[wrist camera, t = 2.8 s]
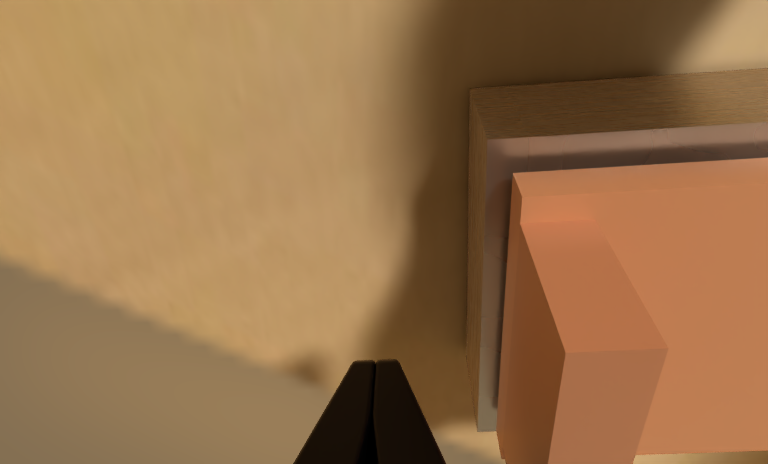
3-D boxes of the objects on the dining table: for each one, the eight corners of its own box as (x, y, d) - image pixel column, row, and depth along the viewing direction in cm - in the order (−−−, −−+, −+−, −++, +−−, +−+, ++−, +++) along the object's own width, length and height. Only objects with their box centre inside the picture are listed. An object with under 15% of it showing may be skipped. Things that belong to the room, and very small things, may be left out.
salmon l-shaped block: (948, 147, 9) (1231, 292, 6) (796, 418, 13) (918, 587, 10) (513, 172, 9) (570, 321, 6) (496, 429, 13) (526, 595, 10)
